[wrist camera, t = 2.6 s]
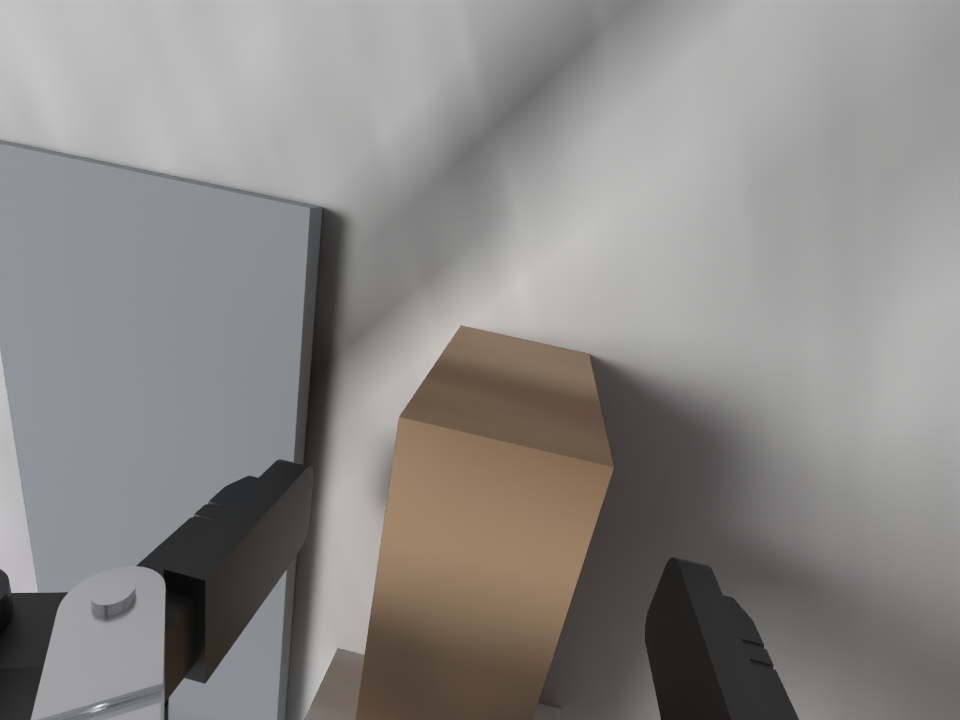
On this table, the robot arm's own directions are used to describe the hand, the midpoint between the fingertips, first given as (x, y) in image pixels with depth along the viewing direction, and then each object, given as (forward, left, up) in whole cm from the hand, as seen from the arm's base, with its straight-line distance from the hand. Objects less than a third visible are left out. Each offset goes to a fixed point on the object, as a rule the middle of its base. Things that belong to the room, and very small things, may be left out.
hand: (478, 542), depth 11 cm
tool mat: (+3, -9, -2) cm, 10 cm away
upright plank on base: (+2, 0, -2) cm, 3 cm away
